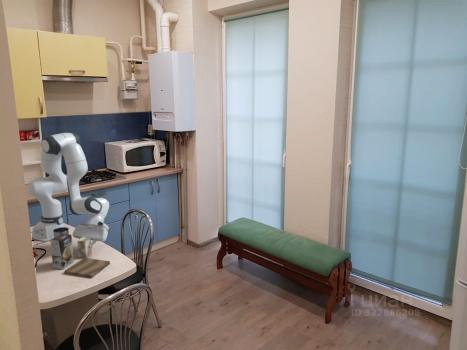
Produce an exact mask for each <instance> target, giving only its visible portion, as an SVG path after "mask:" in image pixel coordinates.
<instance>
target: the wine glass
mask: <svg viewBox="0 0 467 350" xmlns="http://www.w3.org/2000/svg"><path fill="white" fill-rule="evenodd" d="M69 229H70V228H69V227H67V226H66V227H65V226H64V227H59V228H56V229H54V230H53V234H54V238H55V237H57V236H58V235H60V234H70V230H69Z"/></svg>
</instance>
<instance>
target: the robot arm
mask: <svg viewBox="0 0 467 350" xmlns="http://www.w3.org/2000/svg"><path fill="white" fill-rule="evenodd" d="M81 142H82V141H81V138H80V136H79V134H78V133H76V132H70V131H69V132H61V133H60V132H59V133H55V134H52V135H47V136H44V137H42V139H41V141H40V147H41V152H40V169H41V171H42V172H43V173H45V174H47V175H48V176H46V177H39V178H35V179H32V180H30V181H29V182H28V183H27V186H26V191H27V193H28V194H29V195H30V197H33V198H35V199H37V201H38V202H39V204H40V206H41V212H42V215H41V216H39V217H38V219H39V220H40V221H39V222H37V223H36V224H35V225H33V227H32V232H31V233H32V238H31V239H34V240H37V241H41V242H49V241H51V239H53V238H54V234H53V230H54V229H56V228H59V227H65V224H64V214H63V209H62V203H61V201H60V200H58V199H56V198H53V196H52V195H54V194H60V193H63V192H65V191H67V192H68V197H69V205H68V206H69V210H70V213H72V215H74V216H82V215H88V218H87V219H86V220H87V221H86V222H84V223H83V222H80V223H78V224H77V225H76V226H75V228H74V229H73V232H72V234H71V236H72V237H73V238H74V239H78V240H79V239H80V238H82V237H86V238H91V244H89V245H88V247H90V248H91V249H92V248H93V246H94V245H95V244H96V243H97V242H101V243H102V242H105V241H106V240H107V237H108V234H109V230H110V227H109V226H108V225H107V224H106V223H105V219H106V217H107V215H108V213H109V209H110V202H109V201H108V200H107V199H106V198H105V197H98V198H97V197H95V196H84V197H82V196H81V193H80V192H81V191H80V186H79V185H80V184H79V183H80V180H81V179H82V178H83V177H84V176H85V175H87V172H88V170H89V168H88V162H87V159H86V158H87V157H86V155H85V153H84V151H83V148H82V146H81ZM62 156H63V159H64V163H65V167H66V174H65V173H64V172H63V170H62Z"/></svg>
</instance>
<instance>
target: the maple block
mask: <svg viewBox="0 0 467 350" xmlns="http://www.w3.org/2000/svg"><path fill="white" fill-rule="evenodd" d="M76 243H77V252H78V253H77V255H78V258H82V259H83V258H89V257H90V256H92V248H90V247H88V245H89V244H91V243H92V240H91V238H86V237H82V238H80V239H79V238H78V239H77V240H76Z"/></svg>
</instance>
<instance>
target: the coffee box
mask: <svg viewBox="0 0 467 350" xmlns="http://www.w3.org/2000/svg"><path fill="white" fill-rule="evenodd" d="M72 237H73V235H72V234H71V233H69V234H60V235H58V236H57V237H55V238H53V239H51V240H50V247H51V261H52V269H53V268H54V269H59V270H64V269H65V268H67V267H68V266H69V265H71V264H73V263H74V251H73V249H74V248H73V240H72V239H73V238H72Z"/></svg>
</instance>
